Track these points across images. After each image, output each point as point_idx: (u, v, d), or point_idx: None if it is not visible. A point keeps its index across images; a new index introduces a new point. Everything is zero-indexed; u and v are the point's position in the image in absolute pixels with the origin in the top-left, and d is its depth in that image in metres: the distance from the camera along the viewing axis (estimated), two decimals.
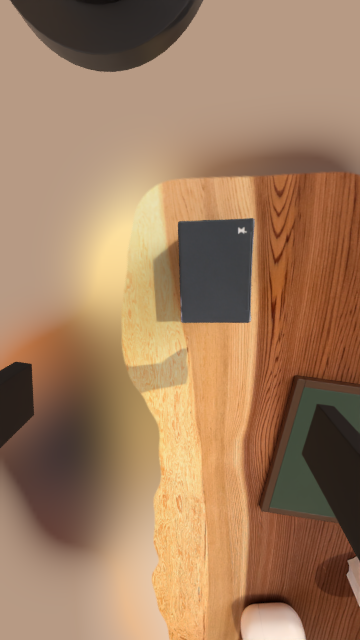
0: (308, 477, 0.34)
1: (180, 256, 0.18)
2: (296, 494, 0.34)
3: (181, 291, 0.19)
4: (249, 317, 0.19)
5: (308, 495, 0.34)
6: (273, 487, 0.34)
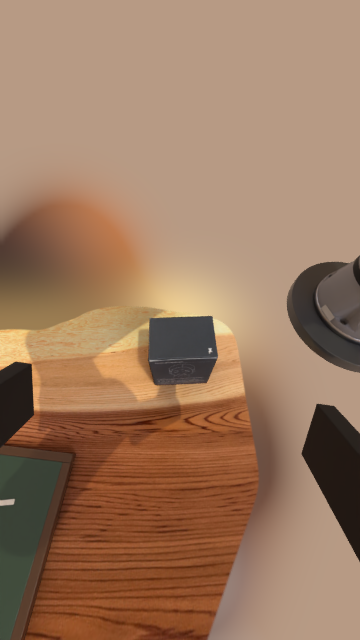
0: None
1: (192, 317, 0.29)
2: None
3: None
4: (152, 360, 0.26)
5: None
6: None
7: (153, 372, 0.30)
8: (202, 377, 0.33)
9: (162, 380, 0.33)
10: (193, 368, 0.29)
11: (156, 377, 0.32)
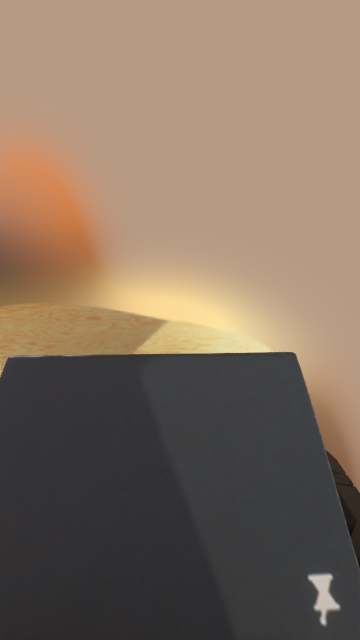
0: None
1: (206, 355, 0.06)
2: None
3: (106, 356, 0.06)
4: None
5: None
6: None
7: None
8: None
9: None
10: None
11: None
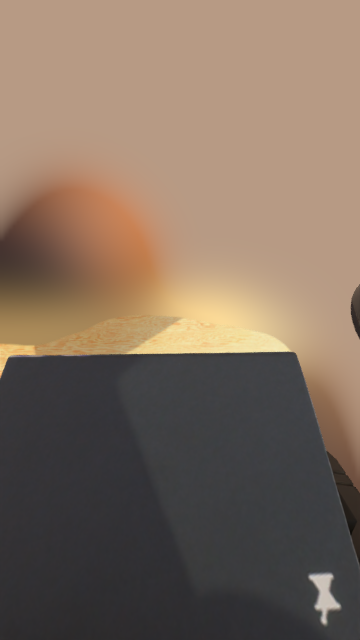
0: None
1: (207, 355, 0.06)
2: None
3: (107, 356, 0.06)
4: None
5: None
6: None
7: None
8: None
9: None
10: None
11: None
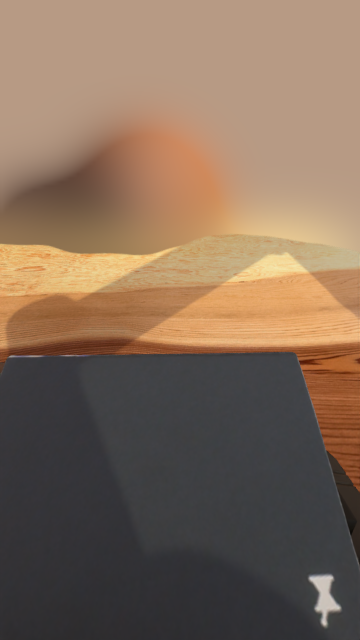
0: None
1: (206, 355, 0.06)
2: None
3: (106, 356, 0.06)
4: None
5: None
6: None
7: None
8: None
9: None
10: None
11: None
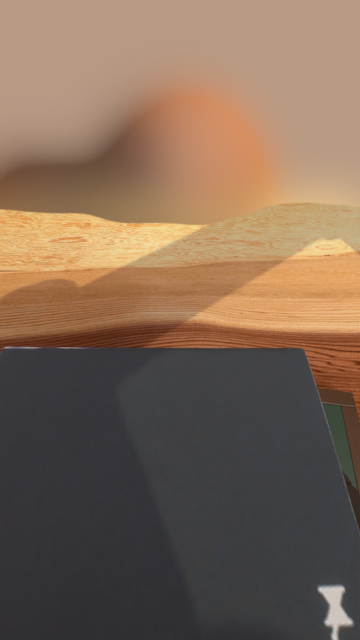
0: None
1: (210, 349, 0.06)
2: None
3: (105, 349, 0.06)
4: None
5: None
6: None
7: None
8: None
9: None
10: None
11: None
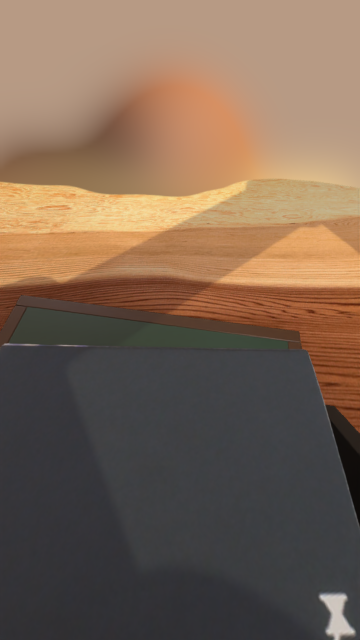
0: None
1: (212, 349, 0.06)
2: None
3: (105, 347, 0.06)
4: None
5: None
6: (75, 310, 0.18)
7: None
8: None
9: None
10: None
11: None
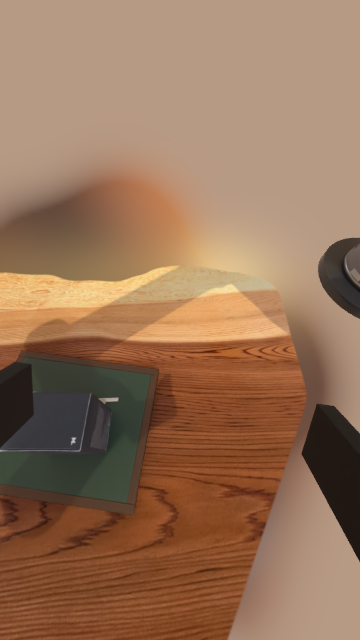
0: (54, 389, 0.35)
1: (67, 392, 0.25)
2: (34, 380, 0.36)
3: (41, 392, 0.25)
4: (1, 450, 0.22)
5: None
6: (48, 359, 0.37)
7: None
8: None
9: (46, 453, 0.29)
10: (65, 452, 0.25)
11: None
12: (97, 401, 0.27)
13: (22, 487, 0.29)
